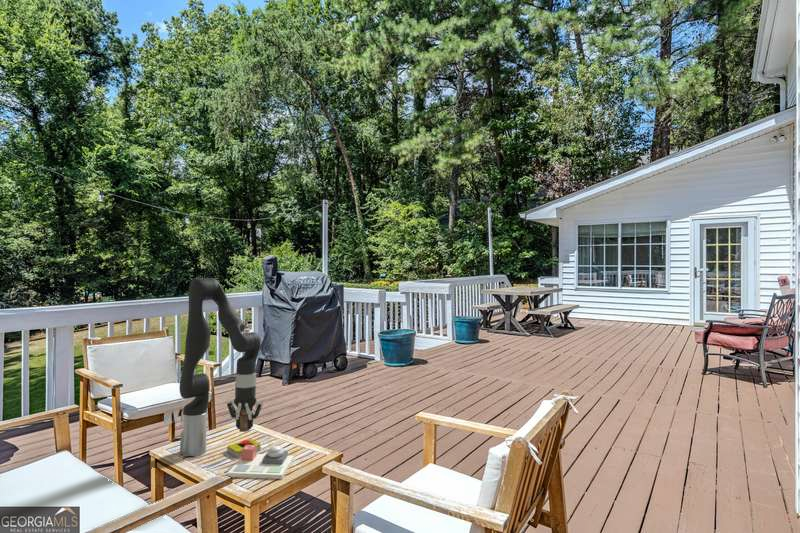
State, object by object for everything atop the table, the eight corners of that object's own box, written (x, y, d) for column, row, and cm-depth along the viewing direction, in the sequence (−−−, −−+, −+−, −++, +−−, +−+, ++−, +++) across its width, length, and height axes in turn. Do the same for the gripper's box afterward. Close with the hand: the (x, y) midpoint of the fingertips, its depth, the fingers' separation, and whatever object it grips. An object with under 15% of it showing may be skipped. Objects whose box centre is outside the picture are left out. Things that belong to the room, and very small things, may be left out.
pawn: (237, 431, 169) (238, 408, 169) (241, 428, 173) (242, 405, 172) (247, 432, 169) (247, 409, 169) (250, 428, 172) (251, 406, 172)
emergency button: (264, 440, 192) (232, 450, 181) (264, 450, 192) (232, 461, 181) (253, 434, 198) (221, 444, 187) (253, 444, 198) (221, 454, 187)
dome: (265, 461, 176) (265, 450, 176) (270, 454, 182) (270, 444, 182) (280, 462, 176) (281, 451, 176) (285, 455, 182) (285, 444, 182)
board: (227, 476, 167) (227, 467, 167) (244, 457, 184) (244, 448, 184) (282, 478, 166) (282, 469, 166) (293, 459, 184) (294, 450, 183)
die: (241, 460, 178) (241, 449, 178) (245, 455, 182) (246, 444, 182) (252, 460, 178) (252, 449, 178) (256, 456, 182) (256, 445, 182)
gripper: (223, 386, 167) (222, 431, 167) (260, 387, 167) (259, 432, 167) (231, 381, 175) (230, 424, 175) (266, 382, 174) (265, 425, 174)
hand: (244, 428), depth 171 cm, fingers closed on pawn, 3 cm apart
